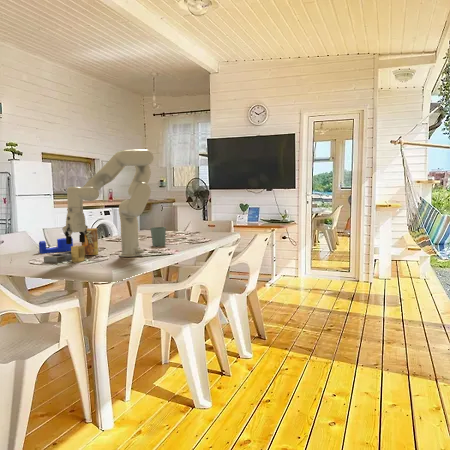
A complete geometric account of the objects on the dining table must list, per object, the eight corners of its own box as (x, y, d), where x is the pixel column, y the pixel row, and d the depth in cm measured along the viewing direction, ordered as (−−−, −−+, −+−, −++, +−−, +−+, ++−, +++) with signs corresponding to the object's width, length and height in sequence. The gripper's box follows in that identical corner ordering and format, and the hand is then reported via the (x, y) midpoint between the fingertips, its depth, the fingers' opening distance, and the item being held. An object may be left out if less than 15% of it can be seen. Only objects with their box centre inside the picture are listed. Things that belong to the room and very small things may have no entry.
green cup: (164, 246, 266) (164, 228, 265) (149, 246, 266) (149, 228, 265) (167, 244, 276) (166, 226, 275) (152, 244, 276) (152, 227, 275)
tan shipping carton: (85, 260, 214) (84, 245, 214) (79, 262, 210) (78, 246, 210) (77, 260, 216) (76, 245, 216) (71, 261, 212) (70, 246, 212)
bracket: (69, 249, 261) (68, 237, 261) (75, 250, 255) (75, 238, 254) (38, 253, 248) (37, 240, 247) (43, 254, 241) (42, 241, 240)
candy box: (98, 253, 238) (97, 227, 237) (98, 254, 234) (96, 228, 233) (82, 254, 236) (81, 228, 235) (82, 255, 232) (80, 229, 231)
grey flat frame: (71, 256, 230) (71, 251, 230) (84, 257, 227) (83, 251, 227) (43, 262, 212) (43, 256, 211) (57, 263, 208) (56, 257, 208)
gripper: (68, 211, 202) (69, 245, 203) (92, 210, 218) (92, 241, 219) (57, 210, 204) (57, 244, 205) (81, 210, 220) (81, 241, 221)
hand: (75, 243), depth 212 cm, fingers open, 9 cm apart
